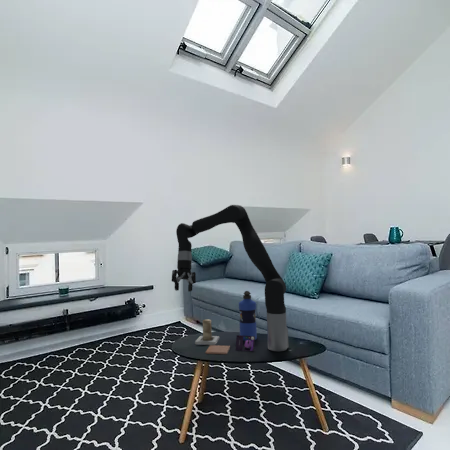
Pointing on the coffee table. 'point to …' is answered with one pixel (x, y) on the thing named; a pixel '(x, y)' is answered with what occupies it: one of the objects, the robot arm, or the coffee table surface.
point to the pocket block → (213, 342)
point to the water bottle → (247, 316)
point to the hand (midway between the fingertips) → (183, 290)
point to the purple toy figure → (247, 344)
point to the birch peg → (207, 330)
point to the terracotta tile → (217, 349)
